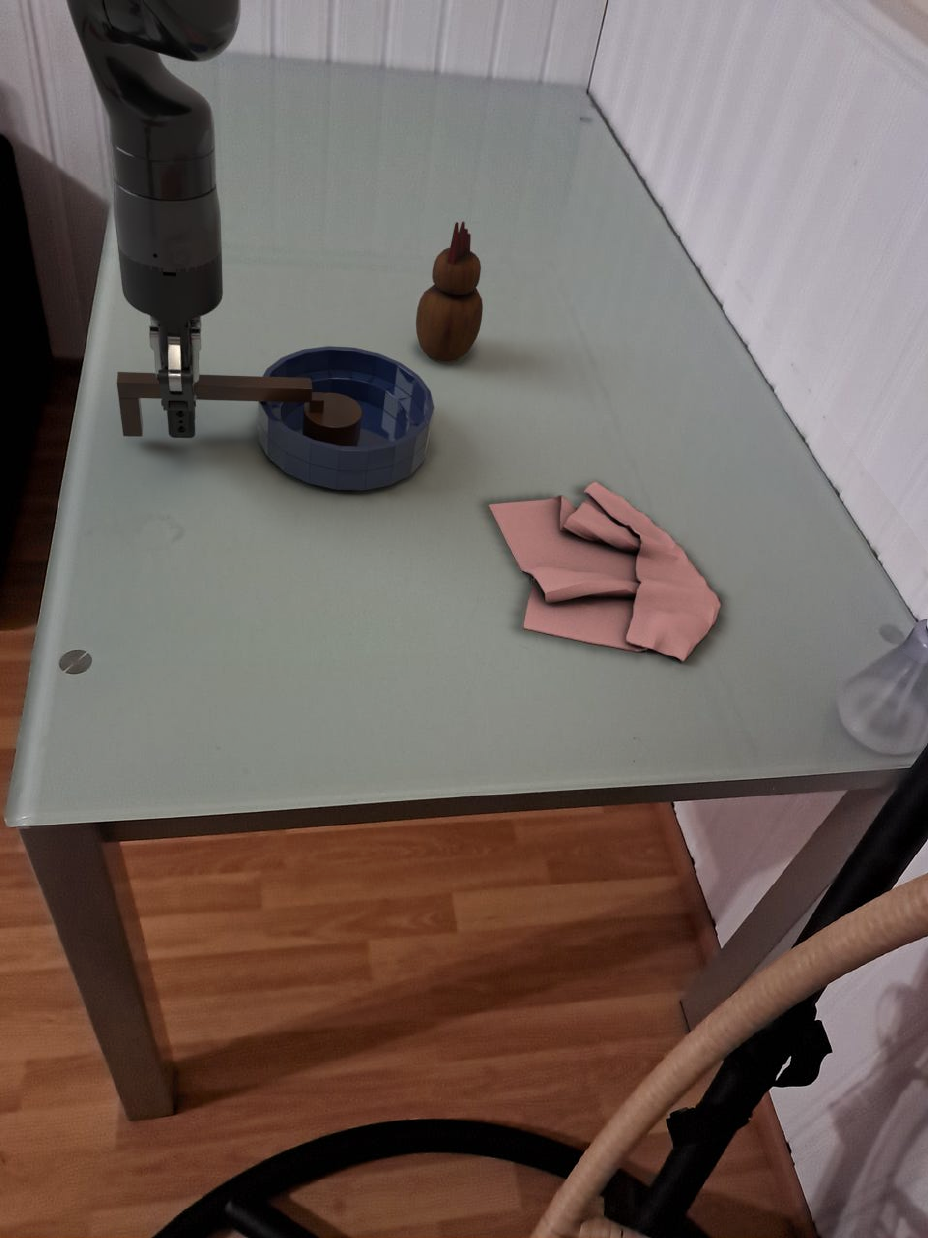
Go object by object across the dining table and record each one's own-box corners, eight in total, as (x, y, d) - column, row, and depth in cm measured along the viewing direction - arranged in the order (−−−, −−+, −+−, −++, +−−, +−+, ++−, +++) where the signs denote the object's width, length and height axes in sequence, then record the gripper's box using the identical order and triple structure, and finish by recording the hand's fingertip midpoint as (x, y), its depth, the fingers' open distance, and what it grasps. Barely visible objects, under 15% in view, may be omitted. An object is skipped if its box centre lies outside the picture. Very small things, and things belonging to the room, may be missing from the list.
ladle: (122, 449, 81) (115, 395, 77) (125, 412, 85) (118, 359, 81) (362, 453, 86) (367, 402, 82) (356, 417, 89) (361, 367, 85)
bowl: (293, 510, 82) (295, 464, 78) (235, 403, 90) (234, 358, 86) (454, 477, 88) (462, 433, 84) (385, 380, 96) (390, 337, 93)
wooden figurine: (437, 375, 99) (459, 236, 88) (402, 347, 101) (419, 209, 90) (484, 358, 102) (511, 222, 91) (449, 331, 105) (472, 196, 94)
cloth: (710, 687, 76) (721, 668, 74) (448, 605, 77) (452, 584, 75) (729, 527, 89) (738, 508, 88) (506, 460, 91) (511, 440, 89)
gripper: (121, 193, 75) (140, 381, 87) (111, 283, 66) (134, 478, 78) (220, 200, 76) (225, 383, 89) (223, 289, 68) (228, 478, 80)
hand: (182, 427), depth 84 cm, fingers closed on ladle
